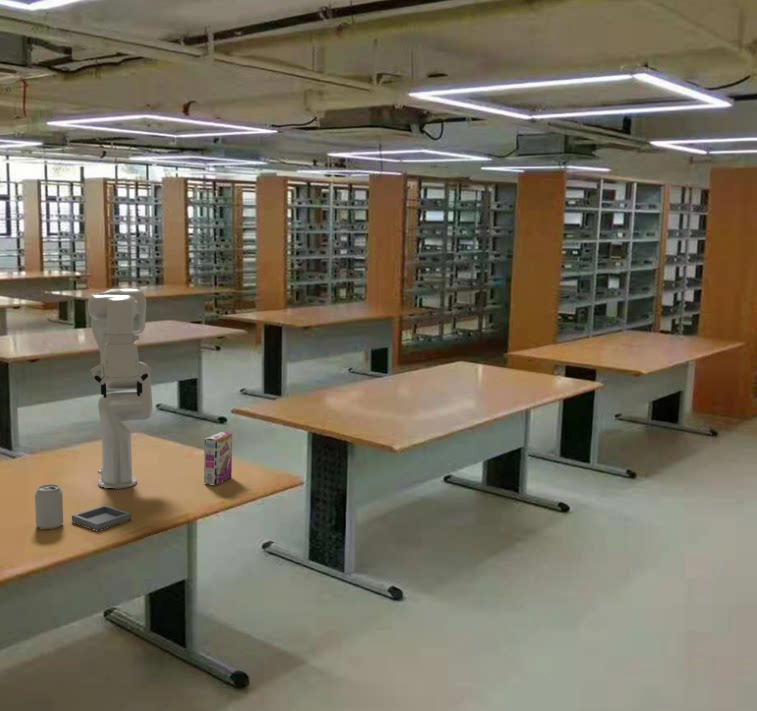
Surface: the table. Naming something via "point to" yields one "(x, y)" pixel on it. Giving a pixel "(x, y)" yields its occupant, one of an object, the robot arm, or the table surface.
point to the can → (49, 506)
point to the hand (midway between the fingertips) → (121, 396)
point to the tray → (101, 517)
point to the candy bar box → (218, 458)
